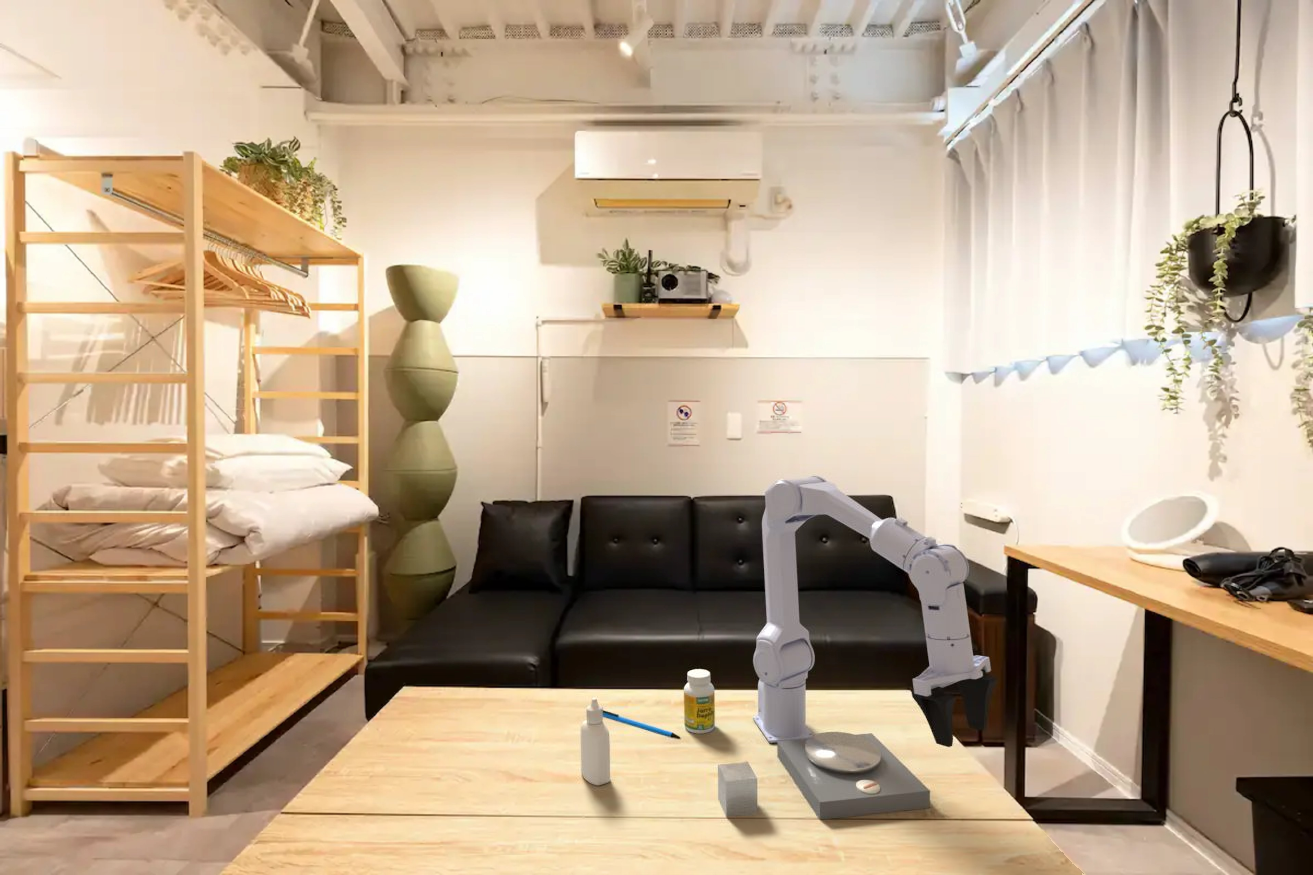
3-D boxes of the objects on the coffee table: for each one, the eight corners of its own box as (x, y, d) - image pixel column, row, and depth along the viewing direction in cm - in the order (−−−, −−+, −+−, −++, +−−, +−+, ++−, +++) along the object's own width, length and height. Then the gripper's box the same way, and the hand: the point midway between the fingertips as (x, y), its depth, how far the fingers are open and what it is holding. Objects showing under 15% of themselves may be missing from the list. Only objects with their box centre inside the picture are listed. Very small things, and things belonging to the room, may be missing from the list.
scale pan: (794, 739, 106) (794, 734, 106) (860, 733, 108) (860, 728, 108) (822, 776, 96) (822, 771, 95) (894, 769, 97) (894, 763, 97)
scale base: (777, 756, 107) (777, 739, 107) (871, 747, 110) (871, 731, 109) (819, 819, 90) (819, 799, 90) (929, 807, 93) (930, 788, 93)
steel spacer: (718, 799, 95) (717, 764, 95) (748, 796, 96) (747, 761, 96) (726, 817, 91) (725, 781, 91) (757, 814, 92) (757, 778, 92)
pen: (594, 712, 124) (594, 706, 124) (682, 739, 114) (682, 732, 114) (591, 714, 124) (591, 708, 124) (679, 741, 113) (679, 734, 113)
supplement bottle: (702, 717, 121) (702, 664, 121) (721, 729, 117) (720, 674, 116) (678, 725, 118) (677, 671, 118) (696, 737, 114) (695, 681, 113)
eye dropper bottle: (609, 766, 105) (608, 690, 104) (610, 786, 99) (609, 705, 99) (581, 767, 104) (580, 691, 104) (580, 787, 99) (579, 707, 98)
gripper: (940, 650, 85) (955, 760, 84) (1005, 628, 93) (1019, 728, 92) (895, 643, 91) (908, 745, 90) (959, 622, 99) (972, 716, 98)
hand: (961, 736), depth 92 cm, fingers open, 7 cm apart
